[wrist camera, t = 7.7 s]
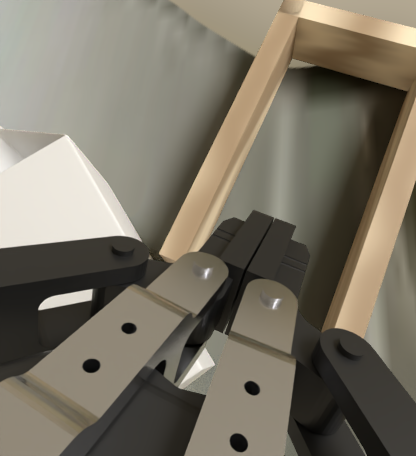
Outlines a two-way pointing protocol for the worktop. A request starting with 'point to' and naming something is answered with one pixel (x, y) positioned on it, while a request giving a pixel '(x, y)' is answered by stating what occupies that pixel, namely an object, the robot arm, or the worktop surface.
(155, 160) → the worktop surface
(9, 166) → the milk carton
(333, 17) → the U-rest
